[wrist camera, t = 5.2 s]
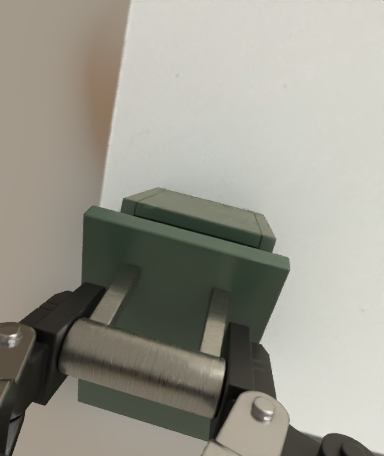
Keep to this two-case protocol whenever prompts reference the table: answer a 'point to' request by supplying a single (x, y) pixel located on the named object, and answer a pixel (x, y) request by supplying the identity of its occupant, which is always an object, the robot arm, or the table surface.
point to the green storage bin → (201, 217)
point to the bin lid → (164, 318)
